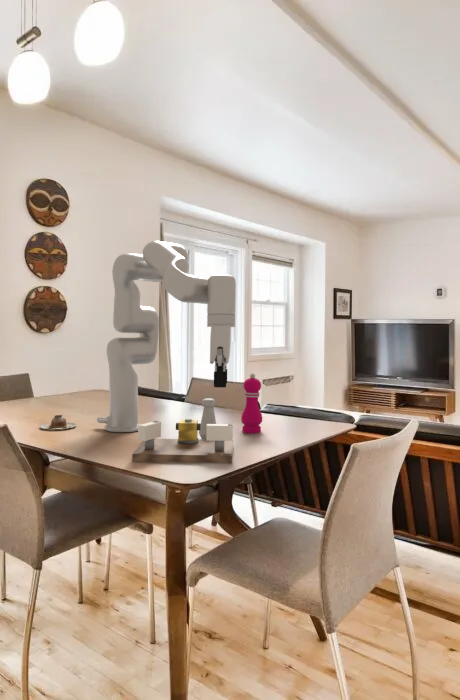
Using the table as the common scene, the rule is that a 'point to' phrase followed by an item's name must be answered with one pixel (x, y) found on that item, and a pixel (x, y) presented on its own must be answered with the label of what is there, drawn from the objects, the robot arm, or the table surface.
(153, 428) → the knob left
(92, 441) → the table surface
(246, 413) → the pepper mill
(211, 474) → the table surface
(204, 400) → the salt shaker
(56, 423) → the pastry
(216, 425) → the knob right
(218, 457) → the level base
